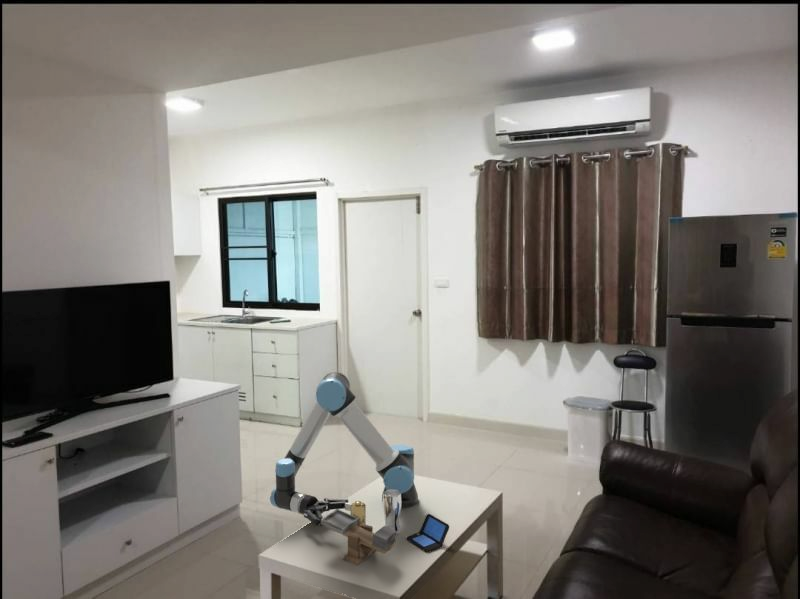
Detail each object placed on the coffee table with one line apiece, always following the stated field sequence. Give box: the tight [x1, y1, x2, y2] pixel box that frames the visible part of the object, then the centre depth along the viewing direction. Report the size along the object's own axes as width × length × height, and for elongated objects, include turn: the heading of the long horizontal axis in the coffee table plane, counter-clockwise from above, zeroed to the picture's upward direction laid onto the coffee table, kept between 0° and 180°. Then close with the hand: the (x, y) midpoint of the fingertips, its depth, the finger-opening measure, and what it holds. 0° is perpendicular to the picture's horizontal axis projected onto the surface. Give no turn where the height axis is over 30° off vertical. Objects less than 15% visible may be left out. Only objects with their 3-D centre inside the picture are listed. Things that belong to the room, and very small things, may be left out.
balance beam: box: [321, 509, 397, 555], centre depth 209 cm, size 10×26×6 cm, turn 60°
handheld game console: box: [406, 513, 450, 553], centre depth 218 cm, size 12×11×7 cm
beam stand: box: [343, 524, 376, 565], centre depth 209 cm, size 12×6×8 cm, turn 150°
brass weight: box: [350, 500, 367, 527], centre depth 223 cm, size 6×6×12 cm
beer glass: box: [382, 489, 402, 535], centre depth 225 cm, size 7×7×15 cm
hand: (349, 516), depth 225 cm, fingers open, 13 cm apart
